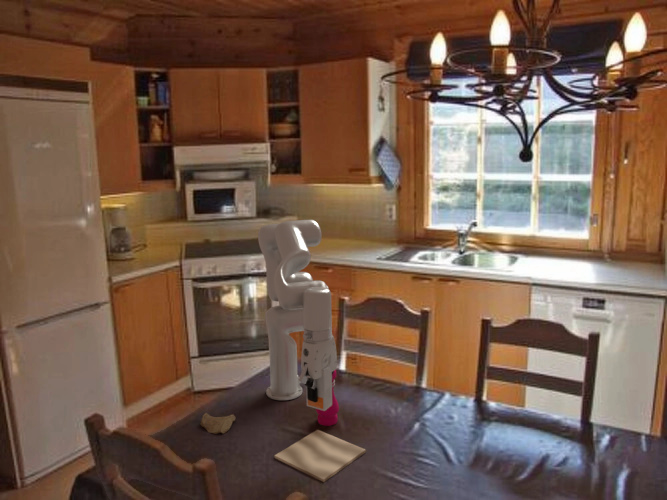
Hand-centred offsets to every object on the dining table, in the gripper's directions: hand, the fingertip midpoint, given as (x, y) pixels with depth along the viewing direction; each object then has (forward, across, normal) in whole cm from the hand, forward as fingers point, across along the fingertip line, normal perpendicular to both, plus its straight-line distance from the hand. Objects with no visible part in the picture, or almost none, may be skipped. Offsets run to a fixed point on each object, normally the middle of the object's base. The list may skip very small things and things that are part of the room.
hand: (319, 396), depth 150 cm
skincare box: (+3, 0, 0) cm, 3 cm away
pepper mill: (+18, +16, +11) cm, 26 cm away
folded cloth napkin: (+17, 0, 0) cm, 17 cm away
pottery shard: (+18, -7, +36) cm, 41 cm away
